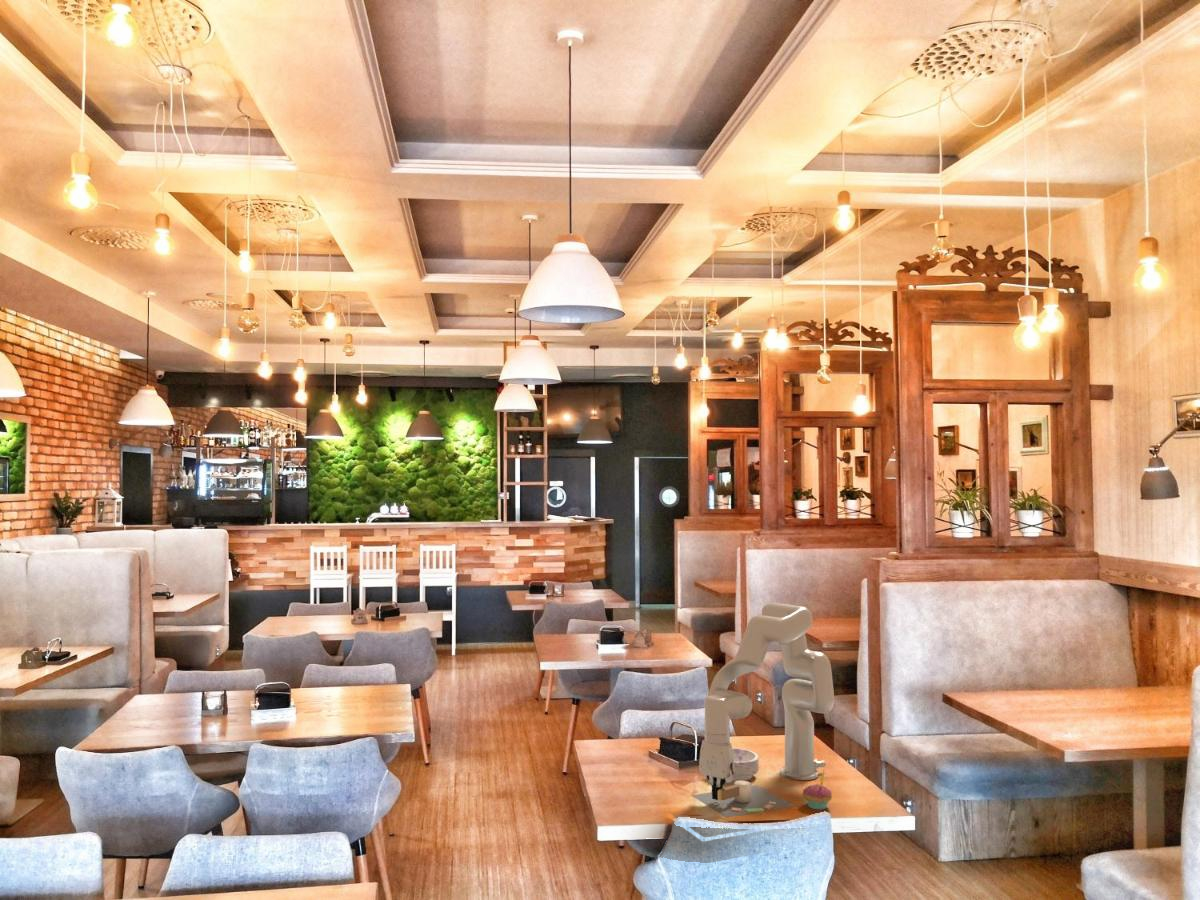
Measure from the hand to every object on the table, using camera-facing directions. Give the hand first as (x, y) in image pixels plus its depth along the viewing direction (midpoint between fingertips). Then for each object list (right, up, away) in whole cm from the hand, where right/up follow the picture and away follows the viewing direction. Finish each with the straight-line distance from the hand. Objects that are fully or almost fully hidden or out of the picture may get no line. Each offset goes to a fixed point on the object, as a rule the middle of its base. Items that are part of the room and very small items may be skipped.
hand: (717, 798), depth 279 cm
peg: (+5, -1, -1) cm, 5 cm away
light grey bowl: (+9, -3, +26) cm, 27 cm away
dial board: (+8, -2, +2) cm, 8 cm away
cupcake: (+30, -3, -3) cm, 30 cm away
